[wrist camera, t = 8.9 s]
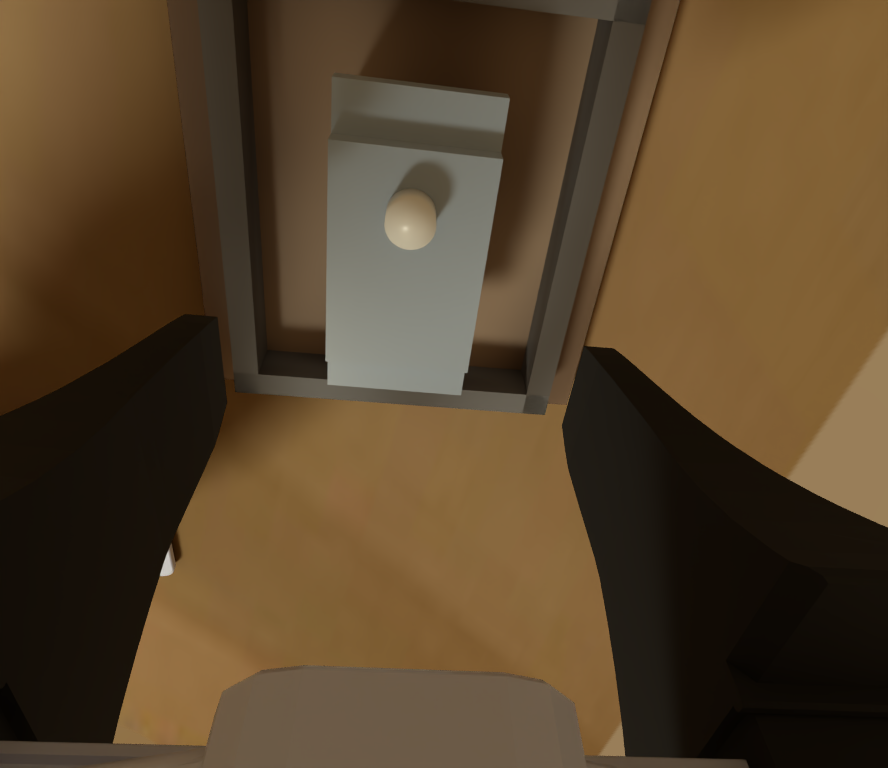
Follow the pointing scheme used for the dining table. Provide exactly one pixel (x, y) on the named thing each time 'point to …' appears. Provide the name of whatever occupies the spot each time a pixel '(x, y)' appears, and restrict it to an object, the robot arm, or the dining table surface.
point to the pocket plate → (306, 171)
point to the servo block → (408, 229)
